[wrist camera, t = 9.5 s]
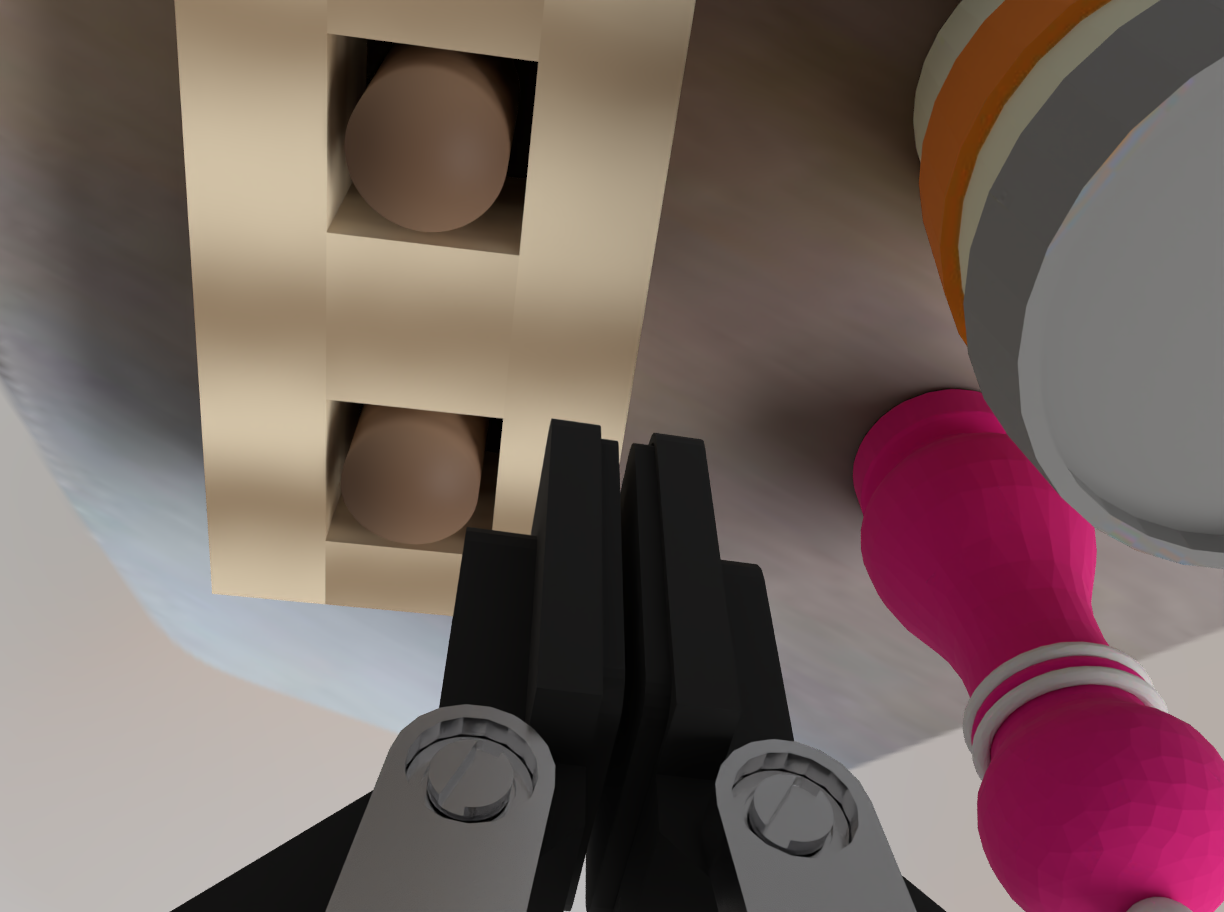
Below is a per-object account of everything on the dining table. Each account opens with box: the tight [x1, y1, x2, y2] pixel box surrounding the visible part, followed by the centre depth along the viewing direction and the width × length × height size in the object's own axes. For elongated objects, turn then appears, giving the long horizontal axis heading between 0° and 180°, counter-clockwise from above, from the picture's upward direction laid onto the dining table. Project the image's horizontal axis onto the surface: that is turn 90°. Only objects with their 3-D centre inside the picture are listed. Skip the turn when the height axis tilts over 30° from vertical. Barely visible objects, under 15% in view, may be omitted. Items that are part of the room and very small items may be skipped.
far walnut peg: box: [340, 404, 490, 544], centre depth 36 cm, size 4×4×6 cm
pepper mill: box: [853, 389, 1224, 912], centre depth 33 cm, size 7×7×20 cm
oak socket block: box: [174, 0, 696, 616], centre depth 34 cm, size 20×12×6 cm, turn 172°
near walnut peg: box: [344, 42, 520, 232], centre depth 31 cm, size 4×4×6 cm
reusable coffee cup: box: [913, 0, 1224, 569], centre depth 28 cm, size 13×12×15 cm
